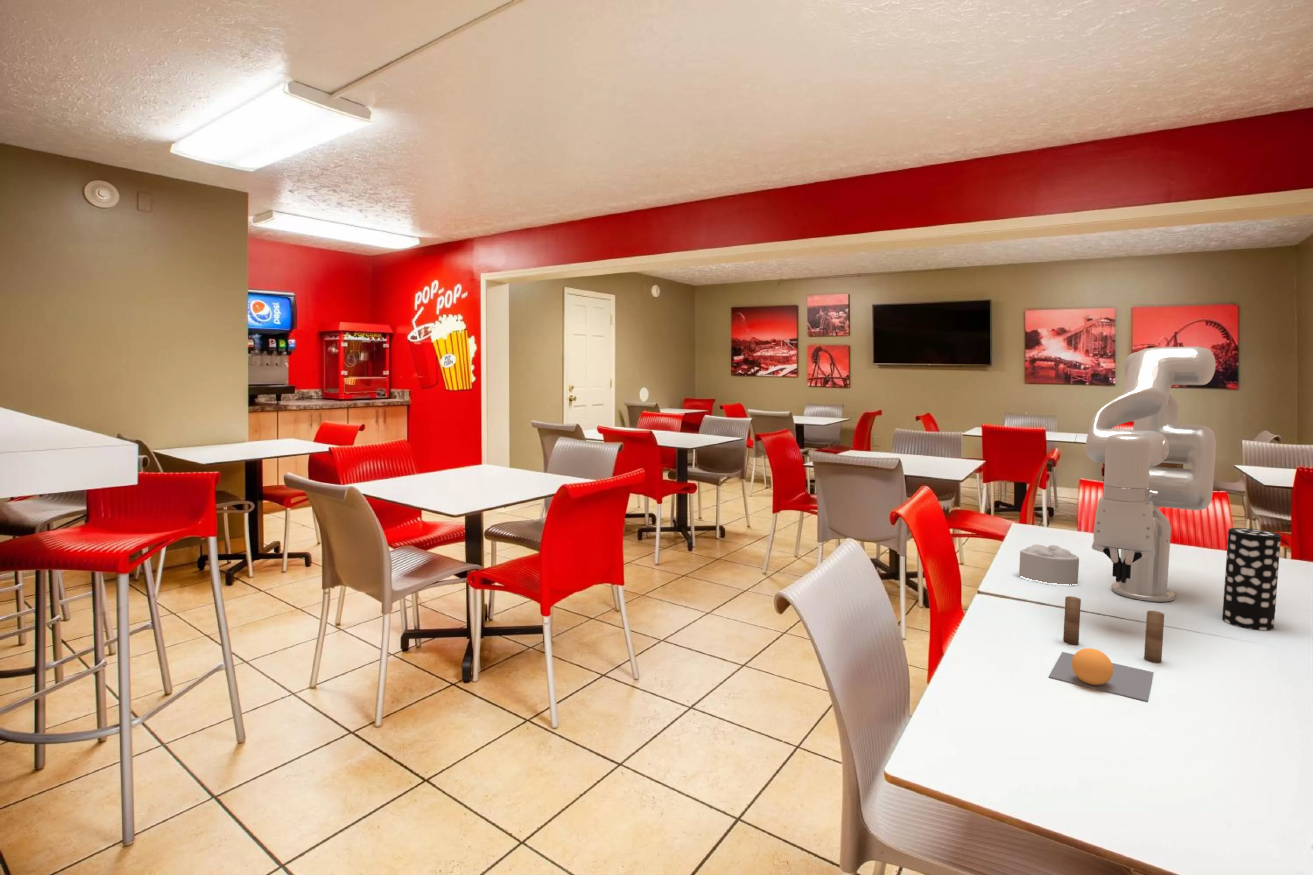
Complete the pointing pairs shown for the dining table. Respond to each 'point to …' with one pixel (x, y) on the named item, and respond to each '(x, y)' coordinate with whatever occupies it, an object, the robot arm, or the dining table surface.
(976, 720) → the dining table surface
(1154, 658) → the post
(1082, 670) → the ball
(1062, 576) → the lumpy-topped squat cylinder
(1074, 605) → the post
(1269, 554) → the white-spotted black cylinder
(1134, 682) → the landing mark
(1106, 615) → the dining table surface
